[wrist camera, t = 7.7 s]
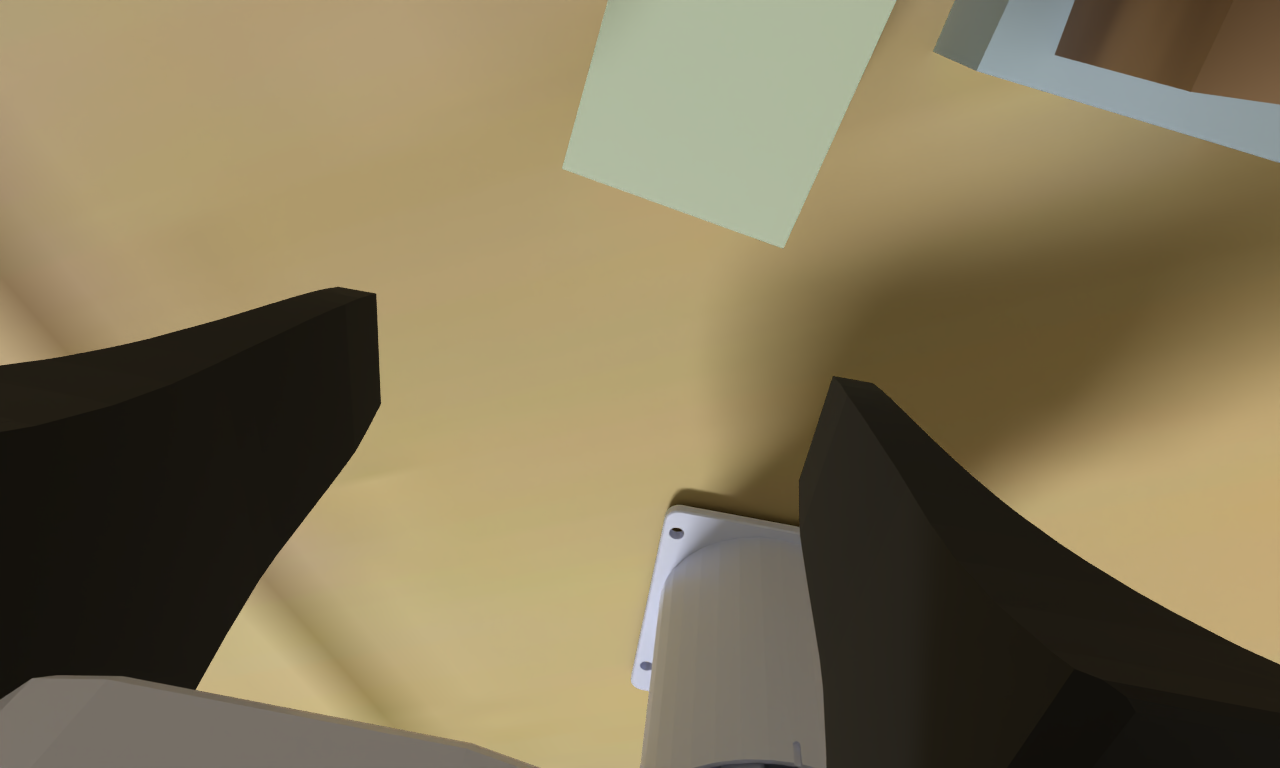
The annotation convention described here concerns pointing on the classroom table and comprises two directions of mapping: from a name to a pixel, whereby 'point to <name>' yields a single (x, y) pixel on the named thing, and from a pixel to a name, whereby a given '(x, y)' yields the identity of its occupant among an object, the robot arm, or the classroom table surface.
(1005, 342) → the classroom table surface
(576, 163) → the sage cube
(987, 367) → the classroom table surface
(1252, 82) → the walnut cube
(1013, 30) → the base block
